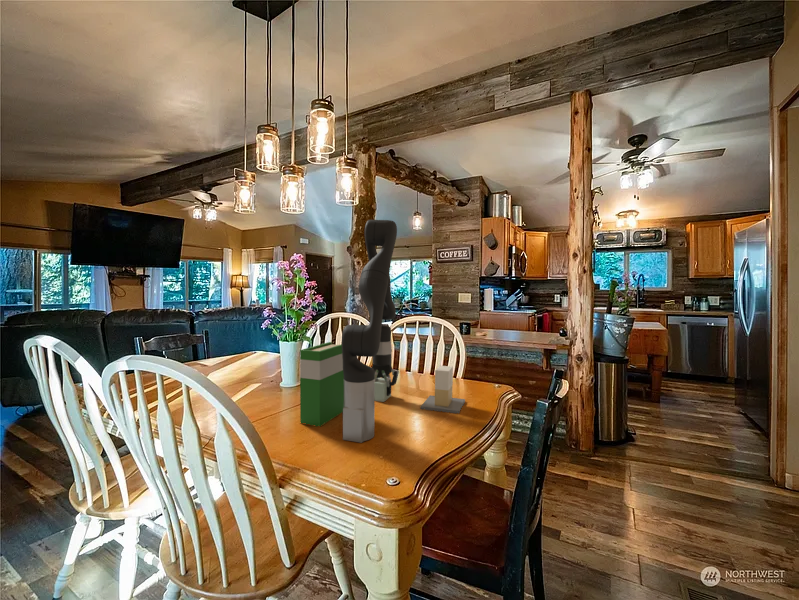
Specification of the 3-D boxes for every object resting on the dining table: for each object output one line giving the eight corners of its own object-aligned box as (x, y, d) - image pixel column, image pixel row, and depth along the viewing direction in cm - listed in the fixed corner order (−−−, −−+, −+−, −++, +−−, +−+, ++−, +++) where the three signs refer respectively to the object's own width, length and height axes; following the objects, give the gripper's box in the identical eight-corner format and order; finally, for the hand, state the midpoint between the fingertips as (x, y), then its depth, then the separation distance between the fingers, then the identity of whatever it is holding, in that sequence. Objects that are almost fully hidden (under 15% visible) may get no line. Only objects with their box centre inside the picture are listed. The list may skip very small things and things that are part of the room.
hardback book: (329, 406, 136) (329, 342, 135) (347, 409, 134) (347, 343, 132) (300, 423, 120) (300, 350, 119) (319, 426, 117) (319, 351, 116)
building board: (458, 413, 130) (459, 394, 129) (420, 409, 134) (420, 390, 134) (465, 401, 143) (465, 383, 143) (430, 397, 148) (430, 380, 147)
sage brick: (383, 401, 142) (383, 383, 142) (371, 400, 144) (372, 382, 143) (391, 395, 150) (391, 378, 149) (379, 394, 151) (379, 377, 151)
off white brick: (448, 390, 134) (448, 371, 133) (435, 389, 135) (435, 370, 135) (452, 384, 141) (452, 366, 141) (439, 383, 143) (440, 365, 143)
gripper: (361, 352, 145) (361, 395, 145) (395, 355, 140) (395, 399, 141) (369, 349, 152) (369, 390, 153) (402, 351, 147) (401, 393, 148)
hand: (381, 394), depth 147 cm, fingers closed on sage brick, 5 cm apart
